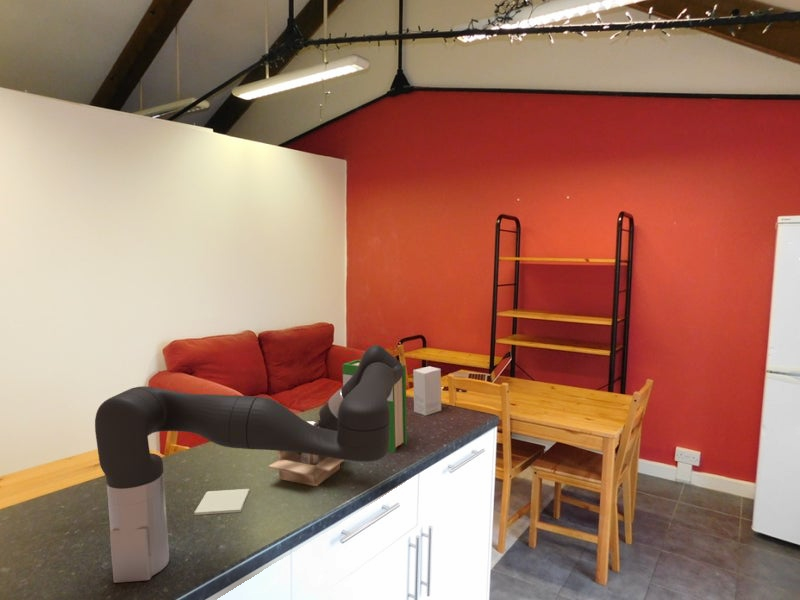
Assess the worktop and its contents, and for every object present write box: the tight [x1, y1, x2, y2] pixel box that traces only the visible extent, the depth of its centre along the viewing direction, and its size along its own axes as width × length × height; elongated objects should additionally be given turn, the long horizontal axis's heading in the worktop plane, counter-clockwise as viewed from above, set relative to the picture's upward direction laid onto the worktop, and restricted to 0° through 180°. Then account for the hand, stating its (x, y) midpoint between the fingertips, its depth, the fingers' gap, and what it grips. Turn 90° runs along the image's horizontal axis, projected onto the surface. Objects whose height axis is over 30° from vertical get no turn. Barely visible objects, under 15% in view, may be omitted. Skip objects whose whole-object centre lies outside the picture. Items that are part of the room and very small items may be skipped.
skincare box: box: [412, 365, 442, 416], centre depth 180 cm, size 8×7×16 cm
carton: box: [268, 419, 345, 487], centre depth 131 cm, size 15×19×12 cm
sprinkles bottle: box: [301, 420, 318, 465], centre depth 131 cm, size 5×5×14 cm
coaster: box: [193, 488, 250, 516], centre depth 117 cm, size 10×10×1 cm
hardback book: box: [342, 359, 408, 453], centre depth 151 cm, size 18×7×24 cm, turn 59°
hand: (303, 447), depth 132 cm, fingers closed on sprinkles bottle, 4 cm apart
